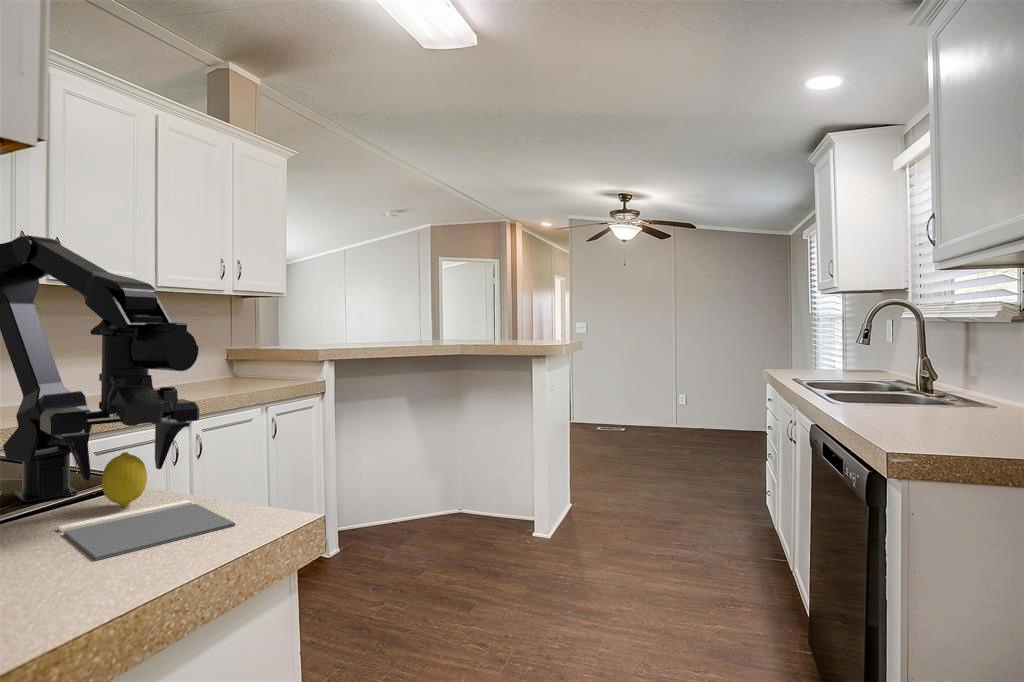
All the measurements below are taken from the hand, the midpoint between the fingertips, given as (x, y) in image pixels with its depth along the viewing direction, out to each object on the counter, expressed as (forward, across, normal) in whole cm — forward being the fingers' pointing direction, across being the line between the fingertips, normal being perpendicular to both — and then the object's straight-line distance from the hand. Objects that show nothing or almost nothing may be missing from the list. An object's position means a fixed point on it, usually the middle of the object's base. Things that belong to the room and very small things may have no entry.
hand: (124, 474), depth 87 cm
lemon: (+5, 0, 0) cm, 5 cm away
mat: (+5, -1, -13) cm, 14 cm away
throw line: (+5, -1, -5) cm, 7 cm away
